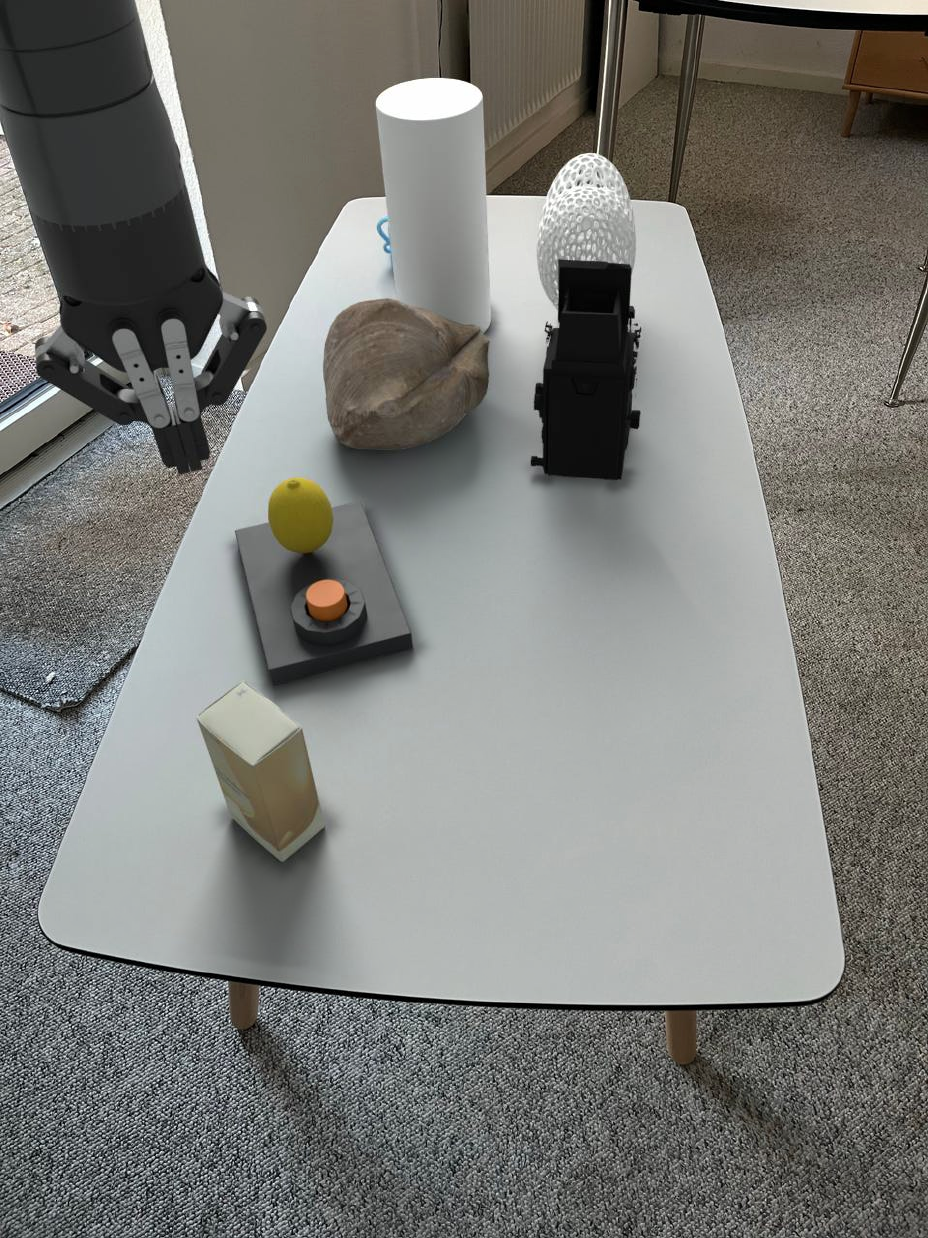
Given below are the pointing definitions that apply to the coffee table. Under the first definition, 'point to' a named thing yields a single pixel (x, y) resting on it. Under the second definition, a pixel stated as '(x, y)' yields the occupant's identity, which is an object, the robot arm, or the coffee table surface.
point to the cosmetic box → (262, 769)
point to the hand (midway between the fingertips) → (189, 464)
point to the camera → (589, 373)
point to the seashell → (400, 374)
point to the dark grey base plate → (282, 604)
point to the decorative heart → (585, 219)
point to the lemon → (300, 515)
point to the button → (326, 600)
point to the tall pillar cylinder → (437, 196)
